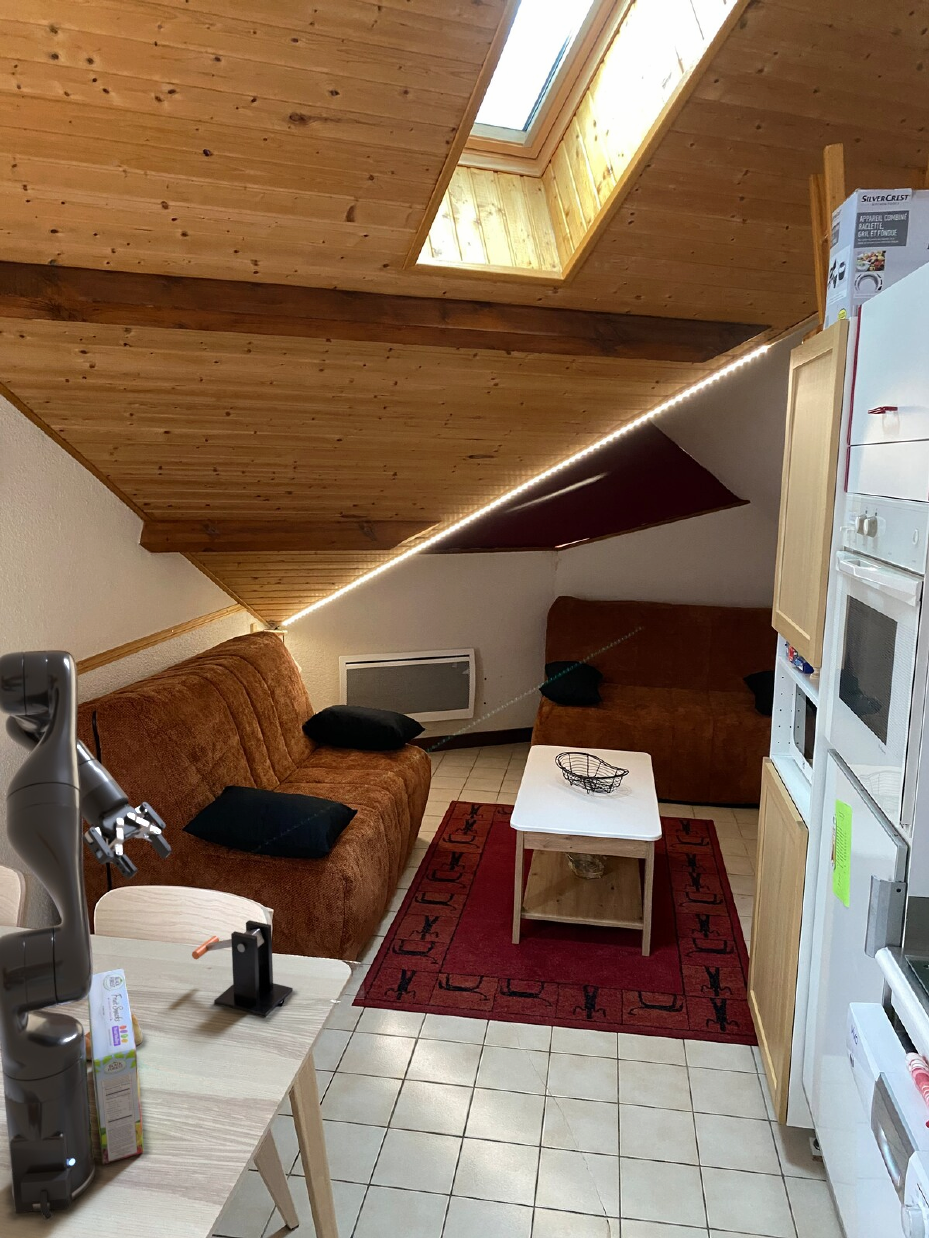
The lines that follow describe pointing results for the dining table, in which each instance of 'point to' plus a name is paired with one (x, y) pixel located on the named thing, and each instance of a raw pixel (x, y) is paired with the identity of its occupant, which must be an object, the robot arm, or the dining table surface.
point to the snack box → (114, 1067)
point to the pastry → (137, 1037)
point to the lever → (223, 943)
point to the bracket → (253, 974)
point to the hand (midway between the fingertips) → (151, 865)
